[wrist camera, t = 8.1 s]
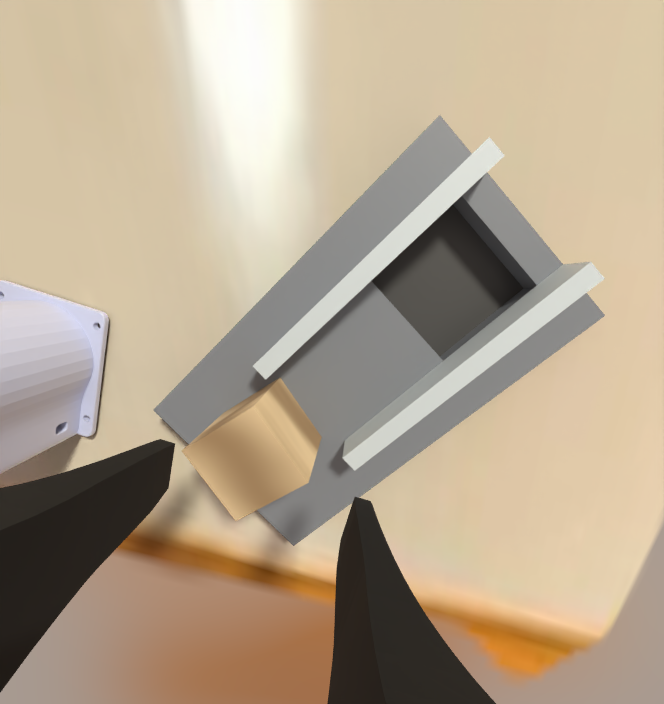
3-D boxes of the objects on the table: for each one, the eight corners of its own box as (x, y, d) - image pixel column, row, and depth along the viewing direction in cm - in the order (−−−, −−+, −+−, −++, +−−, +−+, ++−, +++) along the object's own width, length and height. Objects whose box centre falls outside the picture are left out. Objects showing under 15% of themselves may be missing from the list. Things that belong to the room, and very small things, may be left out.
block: (280, 377, 19) (253, 406, 14) (321, 436, 19) (308, 482, 15) (223, 413, 19) (181, 450, 15) (264, 469, 20) (235, 521, 16)
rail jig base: (431, 134, 17) (451, 89, 13) (579, 312, 18) (638, 320, 14) (172, 398, 22) (130, 423, 18) (299, 523, 23) (286, 572, 19)
